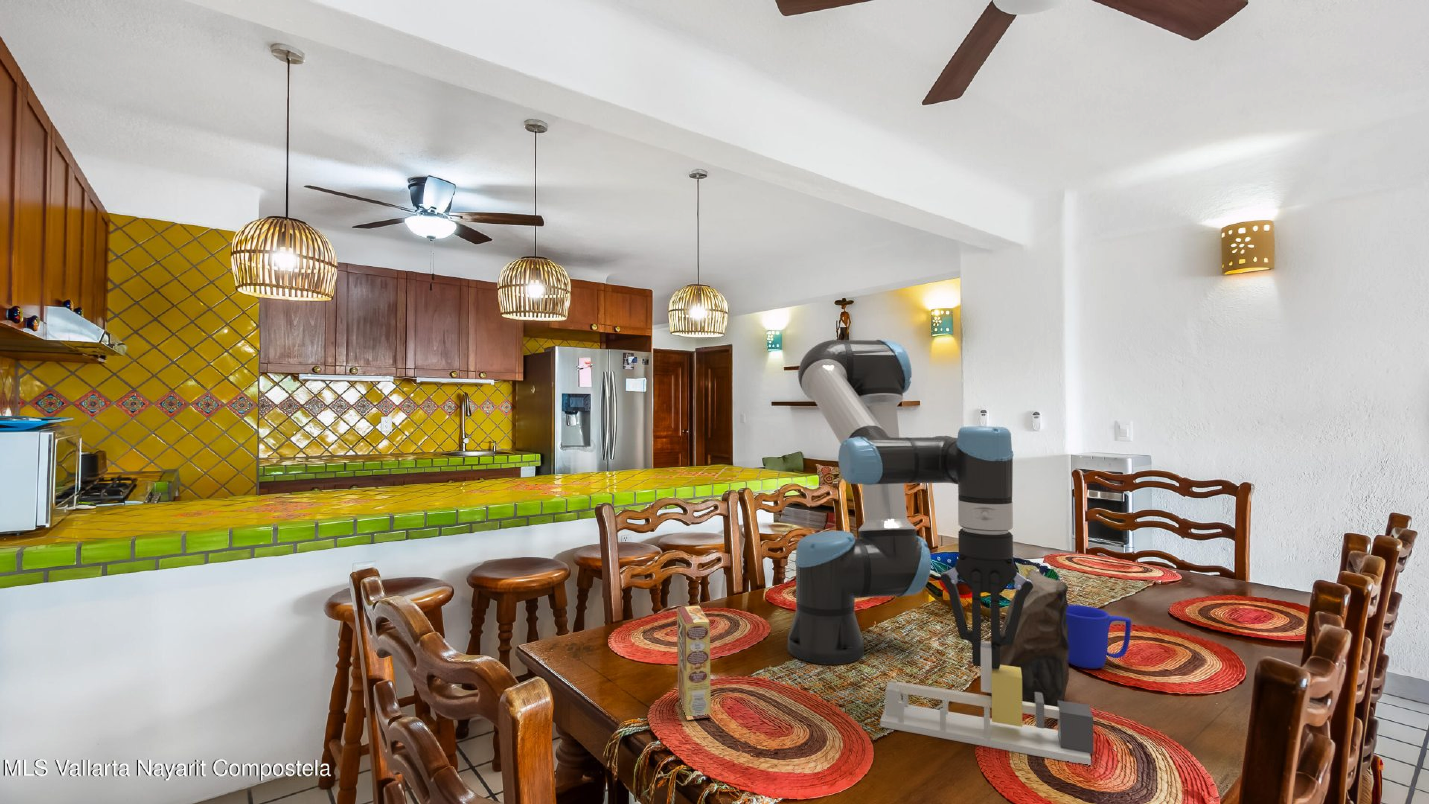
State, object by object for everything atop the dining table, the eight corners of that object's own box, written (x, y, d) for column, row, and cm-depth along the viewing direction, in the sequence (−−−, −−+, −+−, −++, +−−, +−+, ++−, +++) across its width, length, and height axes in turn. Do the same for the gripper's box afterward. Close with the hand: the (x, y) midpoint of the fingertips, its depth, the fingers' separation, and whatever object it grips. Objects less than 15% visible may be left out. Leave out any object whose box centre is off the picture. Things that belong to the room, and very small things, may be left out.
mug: (1140, 675, 117) (1140, 620, 117) (1068, 670, 119) (1067, 616, 119) (1121, 658, 125) (1121, 607, 125) (1054, 654, 127) (1053, 603, 127)
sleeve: (992, 721, 93) (991, 673, 93) (991, 710, 97) (991, 663, 97) (1022, 727, 92) (1022, 677, 92) (1021, 714, 96) (1020, 667, 96)
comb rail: (880, 726, 98) (880, 681, 98) (887, 707, 105) (886, 665, 105) (1095, 766, 87) (1094, 716, 87) (1087, 742, 93) (1087, 695, 93)
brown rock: (1022, 674, 117) (1021, 565, 118) (1095, 700, 107) (1094, 579, 107) (982, 692, 110) (981, 575, 110) (1056, 721, 100) (1055, 592, 100)
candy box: (712, 719, 101) (711, 621, 101) (685, 722, 100) (685, 623, 100) (700, 695, 109) (700, 604, 109) (675, 697, 108) (675, 606, 108)
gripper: (937, 530, 95) (938, 691, 95) (1035, 537, 90) (1037, 707, 90) (940, 522, 102) (941, 672, 102) (1032, 528, 97) (1033, 686, 96)
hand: (986, 688), depth 96 cm, fingers closed
